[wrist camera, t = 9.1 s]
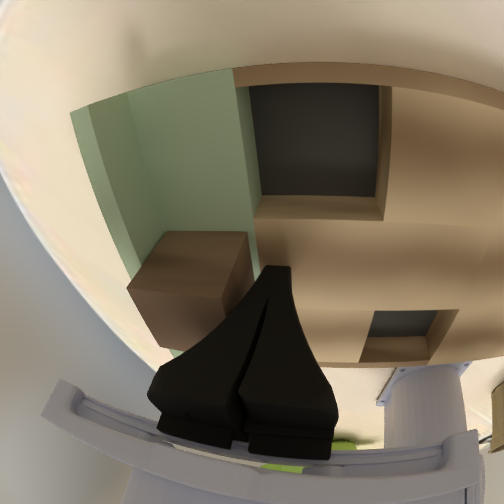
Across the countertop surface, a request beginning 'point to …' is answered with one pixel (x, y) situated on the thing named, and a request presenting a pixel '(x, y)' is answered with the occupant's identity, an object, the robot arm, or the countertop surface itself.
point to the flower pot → (497, 420)
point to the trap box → (324, 196)
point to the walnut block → (192, 284)
